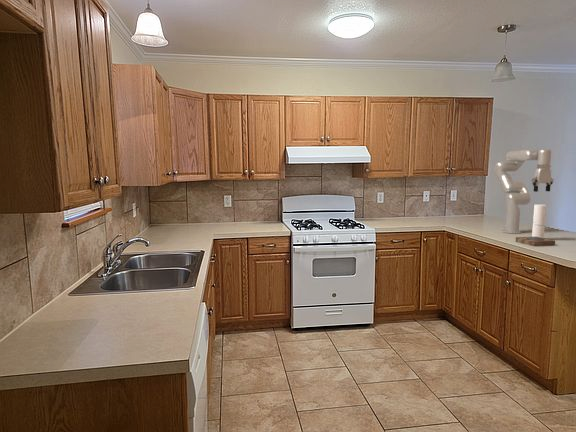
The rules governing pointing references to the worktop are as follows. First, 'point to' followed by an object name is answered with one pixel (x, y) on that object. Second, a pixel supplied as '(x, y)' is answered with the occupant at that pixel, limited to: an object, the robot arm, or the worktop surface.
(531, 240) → the walnut base
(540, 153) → the robot arm
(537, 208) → the cylindrical container
